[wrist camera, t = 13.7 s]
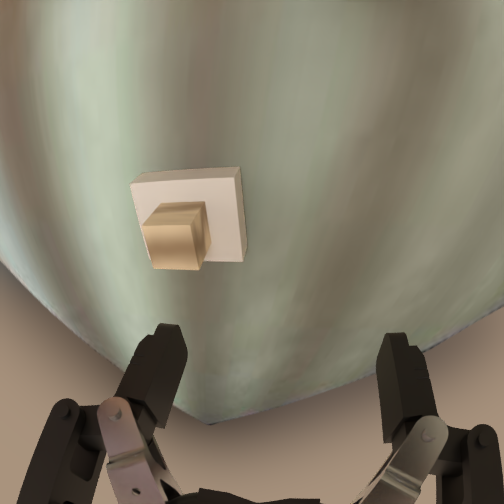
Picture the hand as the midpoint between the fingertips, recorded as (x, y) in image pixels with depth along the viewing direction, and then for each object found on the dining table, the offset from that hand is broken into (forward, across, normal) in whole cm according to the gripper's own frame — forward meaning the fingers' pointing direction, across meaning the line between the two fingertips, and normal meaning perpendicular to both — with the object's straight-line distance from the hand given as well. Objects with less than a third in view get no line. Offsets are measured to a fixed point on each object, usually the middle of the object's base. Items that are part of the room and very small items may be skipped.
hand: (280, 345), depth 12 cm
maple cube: (+26, +14, +9) cm, 31 cm away
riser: (+30, +14, +9) cm, 34 cm away
